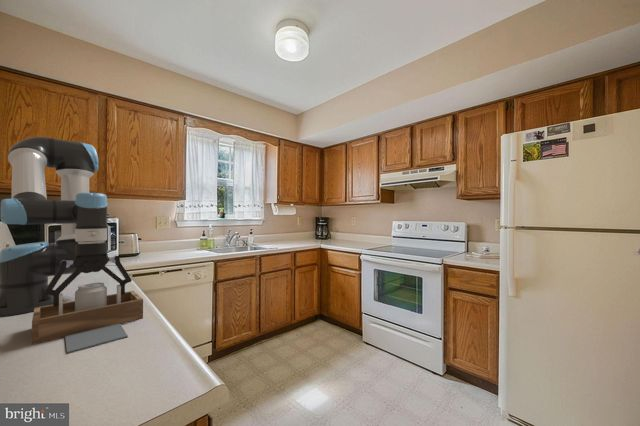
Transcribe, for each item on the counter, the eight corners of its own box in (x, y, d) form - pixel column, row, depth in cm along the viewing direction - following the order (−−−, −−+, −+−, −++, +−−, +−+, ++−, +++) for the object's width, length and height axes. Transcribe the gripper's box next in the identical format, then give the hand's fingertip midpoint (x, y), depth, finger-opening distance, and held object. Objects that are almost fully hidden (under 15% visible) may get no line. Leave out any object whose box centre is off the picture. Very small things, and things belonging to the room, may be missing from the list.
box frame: (34, 327, 78) (34, 307, 78) (133, 307, 95) (133, 290, 95) (31, 344, 68) (31, 321, 68) (143, 318, 85) (143, 299, 85)
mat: (65, 337, 72) (65, 336, 72) (119, 324, 80) (119, 323, 80) (66, 353, 63) (66, 352, 63) (127, 337, 72) (127, 335, 72)
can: (87, 329, 77) (88, 288, 77) (68, 326, 79) (68, 286, 79) (112, 319, 84) (113, 281, 84) (94, 317, 86) (94, 280, 86)
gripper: (31, 246, 70) (31, 326, 70) (141, 240, 88) (141, 303, 88) (33, 244, 75) (32, 318, 75) (136, 239, 93) (136, 298, 93)
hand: (91, 310), depth 81 cm, fingers open, 13 cm apart
